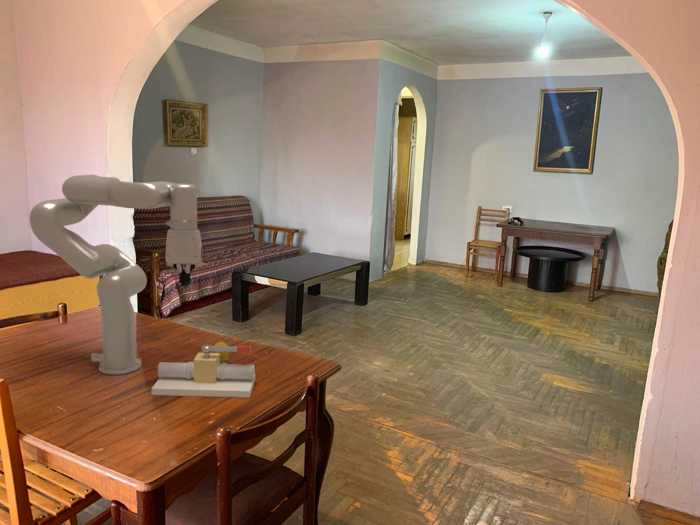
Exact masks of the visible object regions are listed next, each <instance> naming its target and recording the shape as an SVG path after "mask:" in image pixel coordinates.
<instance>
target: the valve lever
mask: <svg viewBox="0 0 700 525" xmlns="http://www.w3.org/2000/svg"><path fill="white" fill-rule="evenodd" d="M212 351H224V352H229V353H231V352H232V353H235V352H236V354H241V355H243V354H249V355H250V354H251V352H252V344H237V345H235V346H230V345H227V346H214V345H212V344H203V345H201V353H209V352H210V353H212Z"/></svg>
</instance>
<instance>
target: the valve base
mask: <svg viewBox="0 0 700 525" xmlns="http://www.w3.org/2000/svg"><path fill="white" fill-rule="evenodd" d="M255 368H256V367H255V364H236V363H235V364H234V363H232V364H230V363H227V362H223V363H222V364H220V353H212V352H209V353H203V352H198V353H196V356H195V358H194V359H193V361H188V362H172V361H171V362H169V361H168V362H167V361H166V362H164V361H160V362H159V363H158V366H157V376H158V379H157V381H156V382H155V383H154V384H153V386H152V388H151V396H167V397H168V396H173V397H175V396H178V397H180V396H181V397H209V398H210V397H212V398H213V397H215V398H216V397H217V398H244V399H245V398H251V394H252V391H253V388H254V385H255V383H254V382H256V373H255V370H256V369H255Z"/></svg>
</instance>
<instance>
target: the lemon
mask: <svg viewBox="0 0 700 525" xmlns="http://www.w3.org/2000/svg"><path fill="white" fill-rule="evenodd" d="M213 346H228V344H227V343H225V342H223V341H218V342H216V343H215V344H214V345H213ZM211 353H220V364H222V363H226V362H227V360H228V359H229V358H230V352H224V351H212V352H211Z"/></svg>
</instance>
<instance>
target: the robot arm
mask: <svg viewBox="0 0 700 525" xmlns="http://www.w3.org/2000/svg"><path fill="white" fill-rule="evenodd" d="M61 192H62V195H63V196H64V197H63V198H56V199H49V200H44V201H41V202H39V203H37V204H35V205H34V206H33V207H32V209H31V210H30V214H29V225H30V227H31V230H32V233H33V235H35V237H36V238H37V240H39V242H40V243H42V244H43V245H44V246H45V247H47V248H49V249H50V250H51V251H52V252H54V253H55V254H56V255H57V256H59V257H60V258H61V259H62V260H63V261H64V262H65V263H67V265H69V266H70V267H71V268H72V269H74V270H75V272H77V273H78V274H79V275H81V276H82V277H84V278H86V279H95V278H99V277H100V278H99V280H98V282H97V285H96V294H97V298H98V302H99V306H100V313H101V314H100V316H101V335H102V351H103V352H101V353H94V352H92V353H91V355H90V359H91V362H92V363H97V362H98V371H99V372H101V374H104V375H111V376H112V375H116V376H117V375H124V374H129V373H132V372H135V371H137V370H139V369H140V368H141V366H142V360H141V359H139V358H138V357H137V354H136V353H137V352H136V351H137V349H136V328H135V327H136V326H135V325H136V324H135V320H136V319H135V311H134V309H135V308H134V307H133V304H132V301H131V297H133V296H136V295H137V294H138V293H141V292H143V290H144V289H145V288H146V286H147V282H148V278H147V275H146V273H145V271H144V270H143V268H142V267H141V266H140V265H138V264H137V263H136V262H135V261H133V260H132V259H131V258H130V257H129V256H128V255H126V254H125V253H124V252H123V251H122V250H120V249H119V248H118V247H116V246H114V245H111V244H108V243H102V244H97V245H92V244H90V243H89V242H87V241H86V240H85V239H83V238H82V237H81V235H79V234H78V233H76V232H74V231H72V230H70V229H68V228H66V226H71V225H75V224H79V223H81V222H82V221H84V219H86V218H87V217H88V215H90V214H91V213H92V212H93V211H94V210H95V209H96V208H97V207H98V206H108V207H109V206H110V207H116V208H118V207H119V208H126V209H138V210H153V209H157V208H165V207H170V219H169V220H166V221H165V226H169V229H167V233H166V235H167V236H166V241H165V262H166V263H165V265H166V266H167V267H172V268H174V269H175V271H177V273H178V276H179V277H178V279H179V281H178V282H179V283H180V287H188V286H189V284H191V281H192V280H191V279H192V278H191V273H192V271H193V270H194V269H197V268H201V267H203V265H204V262H203V244H202V236H201V231H200V229H198V189H197V187H196V184H192V183H183V182H181V183H179V182H178V183H175V182H169V181H163V180H162V181H150V182H138V181H137V182H135V181H133V182H131V181H122V180H120V179H119V178H118V177H114V176H99V175H96V174H81V175H80V174H79V175H73V176H70V177H67V179H65V181H64V182H63V183H62V185H61ZM184 265H185V267H184Z"/></svg>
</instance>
